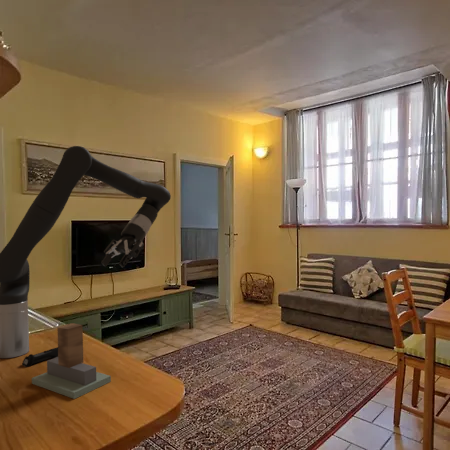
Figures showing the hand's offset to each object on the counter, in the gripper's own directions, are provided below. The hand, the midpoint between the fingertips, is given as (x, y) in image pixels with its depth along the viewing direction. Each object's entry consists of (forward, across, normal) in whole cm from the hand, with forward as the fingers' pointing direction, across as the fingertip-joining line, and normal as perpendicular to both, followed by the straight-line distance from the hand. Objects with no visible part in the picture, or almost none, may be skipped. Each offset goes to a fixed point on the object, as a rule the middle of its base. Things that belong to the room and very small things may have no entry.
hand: (112, 265), depth 119 cm
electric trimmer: (+30, -15, +11) cm, 35 cm away
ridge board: (+36, +8, +5) cm, 37 cm away
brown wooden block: (+32, +8, +2) cm, 33 cm away
